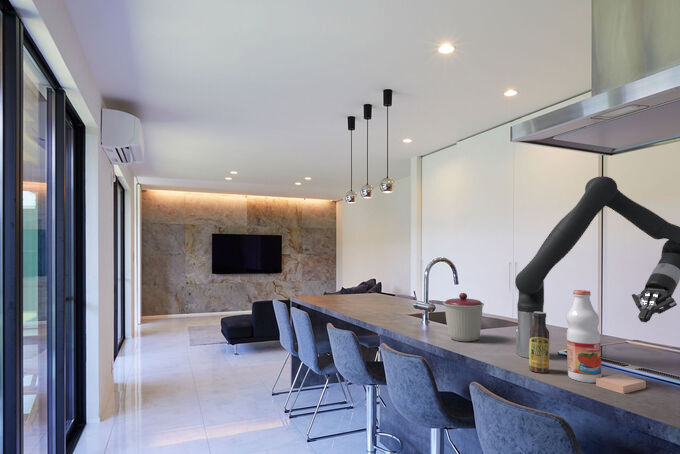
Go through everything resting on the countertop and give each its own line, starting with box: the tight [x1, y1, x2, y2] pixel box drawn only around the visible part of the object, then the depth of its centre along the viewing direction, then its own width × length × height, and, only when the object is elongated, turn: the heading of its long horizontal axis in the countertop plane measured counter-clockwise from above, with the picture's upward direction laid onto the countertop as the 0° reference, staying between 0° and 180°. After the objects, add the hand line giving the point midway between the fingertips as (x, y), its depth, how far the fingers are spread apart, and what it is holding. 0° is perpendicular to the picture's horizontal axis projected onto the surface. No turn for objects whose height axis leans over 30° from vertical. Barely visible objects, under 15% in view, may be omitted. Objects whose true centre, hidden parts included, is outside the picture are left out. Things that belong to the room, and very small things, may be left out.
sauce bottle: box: [528, 311, 550, 374], centre depth 144 cm, size 7×6×20 cm
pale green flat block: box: [595, 373, 647, 395], centre depth 128 cm, size 8×2×11 cm
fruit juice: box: [566, 289, 603, 384], centre depth 136 cm, size 9×9×28 cm
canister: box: [442, 292, 485, 343], centre depth 193 cm, size 18×18×21 cm
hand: (642, 320), depth 134 cm, fingers closed
